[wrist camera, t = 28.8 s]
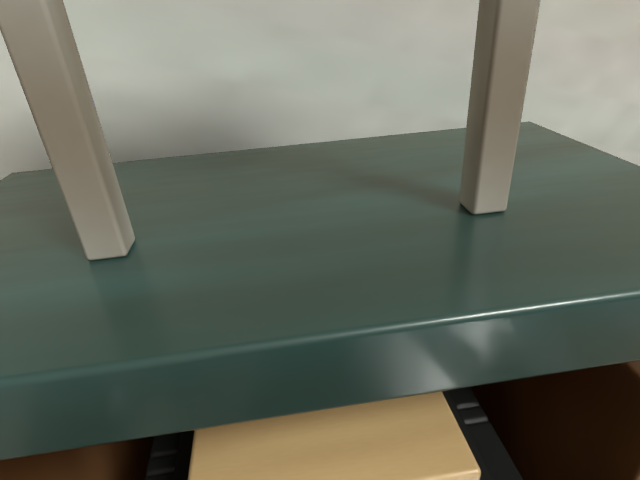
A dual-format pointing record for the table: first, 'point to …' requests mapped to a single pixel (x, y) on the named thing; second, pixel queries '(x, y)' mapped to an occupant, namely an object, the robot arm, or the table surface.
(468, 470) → the beech block
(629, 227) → the drawer
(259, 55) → the table surface
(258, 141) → the table surface
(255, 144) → the table surface
